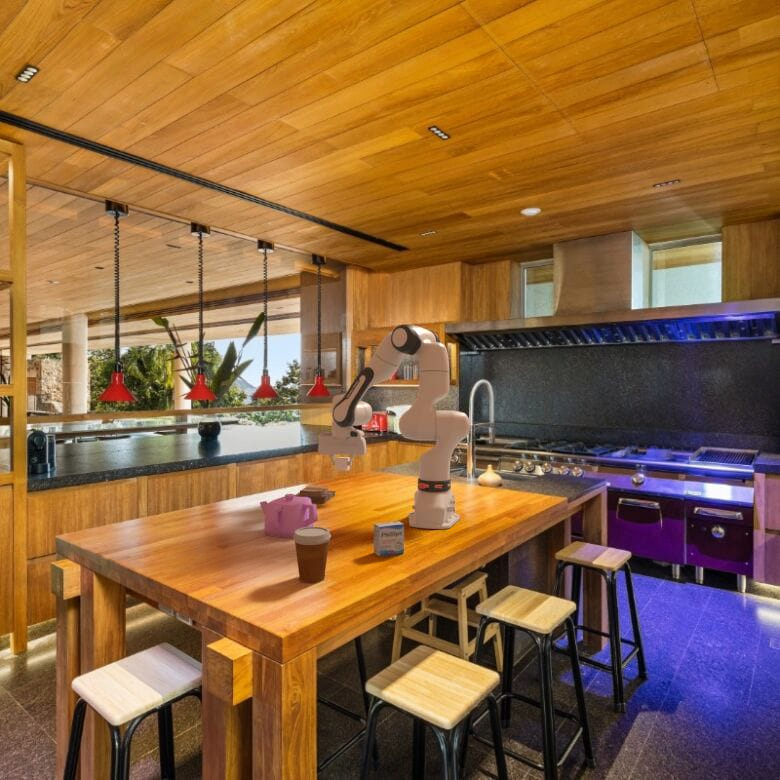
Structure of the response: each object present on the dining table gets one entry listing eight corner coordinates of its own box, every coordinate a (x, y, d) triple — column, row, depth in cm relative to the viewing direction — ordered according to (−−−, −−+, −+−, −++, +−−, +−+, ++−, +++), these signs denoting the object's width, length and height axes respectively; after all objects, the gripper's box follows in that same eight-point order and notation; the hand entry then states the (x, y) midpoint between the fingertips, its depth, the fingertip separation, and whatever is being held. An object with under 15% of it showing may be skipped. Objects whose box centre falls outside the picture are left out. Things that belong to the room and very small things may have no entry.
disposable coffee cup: (285, 582, 132) (285, 534, 132) (305, 569, 141) (305, 524, 141) (319, 587, 129) (319, 538, 128) (337, 574, 137) (337, 528, 137)
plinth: (324, 503, 215) (324, 493, 215) (291, 501, 218) (291, 491, 218) (335, 495, 228) (335, 486, 228) (304, 494, 231) (304, 485, 231)
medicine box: (379, 557, 151) (379, 527, 150) (373, 552, 155) (373, 523, 154) (404, 553, 154) (404, 524, 153) (398, 549, 158) (398, 520, 158)
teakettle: (270, 542, 165) (270, 502, 164) (258, 528, 180) (258, 491, 180) (322, 535, 172) (322, 497, 172) (307, 522, 187) (307, 487, 187)
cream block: (346, 471, 219) (346, 458, 219) (334, 470, 219) (334, 458, 219) (349, 469, 223) (349, 457, 223) (338, 469, 224) (338, 457, 224)
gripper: (315, 432, 220) (315, 465, 220) (363, 433, 216) (363, 467, 216) (320, 431, 227) (320, 463, 227) (367, 432, 223) (367, 465, 223)
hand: (342, 465), depth 221 cm, fingers closed on cream block, 5 cm apart
